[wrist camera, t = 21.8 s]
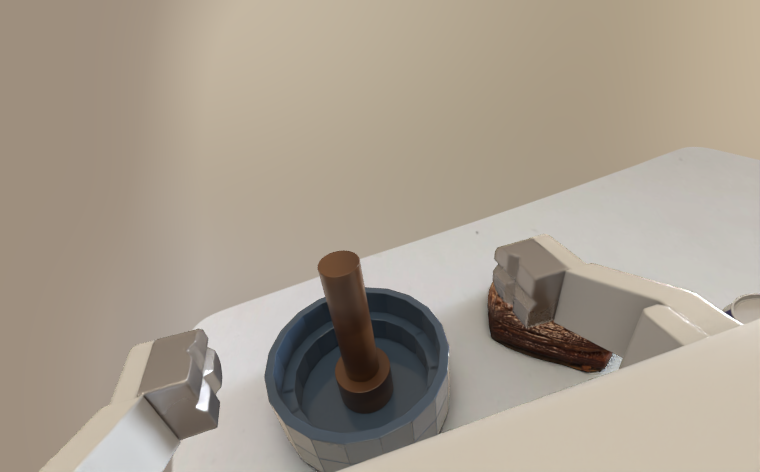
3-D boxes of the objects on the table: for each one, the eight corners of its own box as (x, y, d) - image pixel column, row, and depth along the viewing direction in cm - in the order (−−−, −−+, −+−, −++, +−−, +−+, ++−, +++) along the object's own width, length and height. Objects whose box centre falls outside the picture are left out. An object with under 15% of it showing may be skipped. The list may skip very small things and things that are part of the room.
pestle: (341, 418, 30) (301, 291, 22) (340, 370, 33) (306, 248, 26) (396, 409, 30) (376, 280, 22) (389, 362, 33) (370, 238, 26)
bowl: (274, 500, 26) (248, 460, 23) (293, 342, 38) (278, 300, 35) (472, 467, 26) (474, 422, 23) (429, 320, 38) (426, 277, 35)
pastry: (616, 384, 30) (636, 337, 27) (473, 339, 35) (475, 295, 32) (618, 298, 38) (633, 253, 34) (500, 271, 43) (504, 230, 40)
